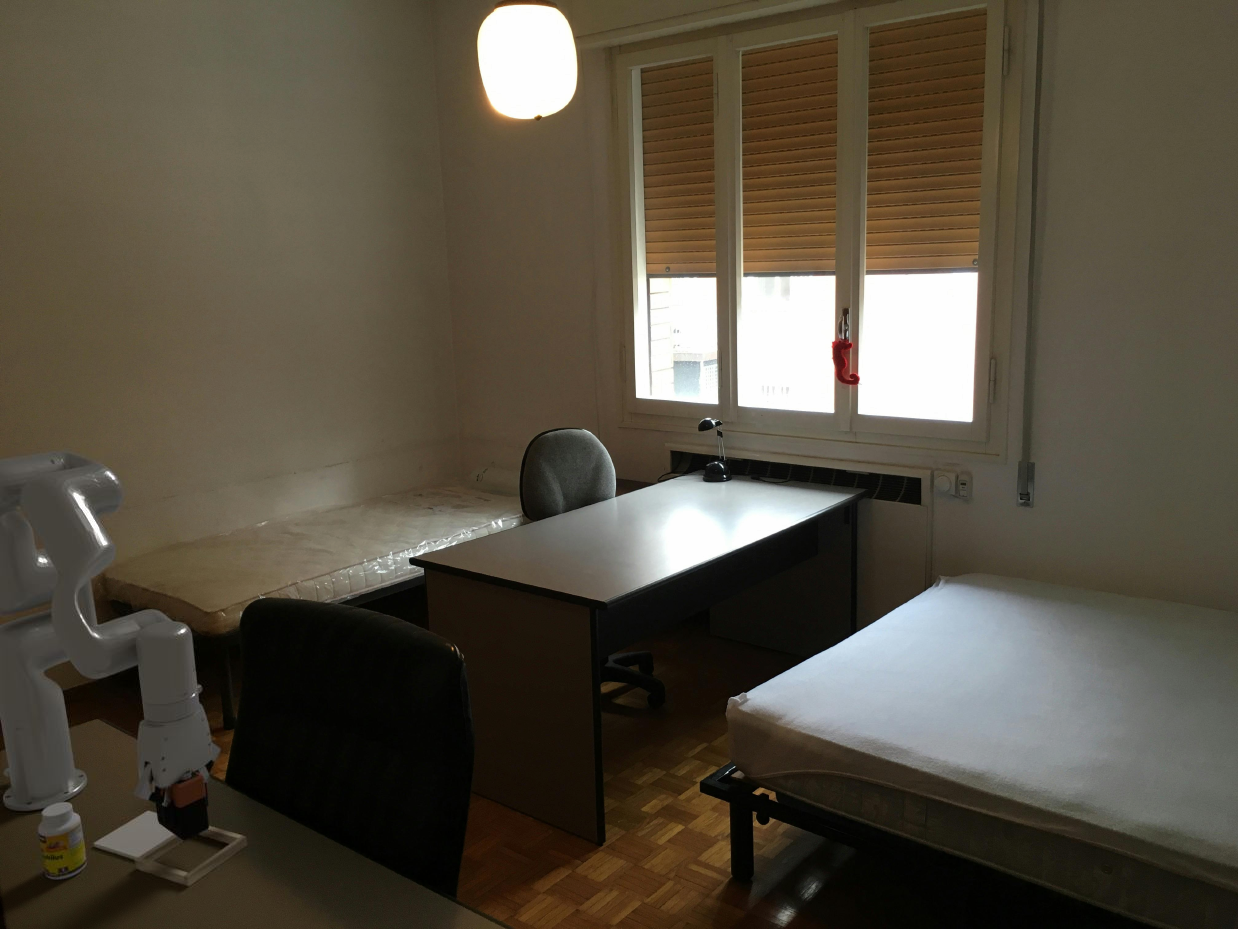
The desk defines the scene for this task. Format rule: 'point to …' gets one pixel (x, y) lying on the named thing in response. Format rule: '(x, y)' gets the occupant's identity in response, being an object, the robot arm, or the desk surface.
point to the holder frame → (188, 879)
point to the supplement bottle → (61, 841)
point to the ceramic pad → (135, 836)
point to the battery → (189, 806)
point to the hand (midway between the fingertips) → (183, 814)
